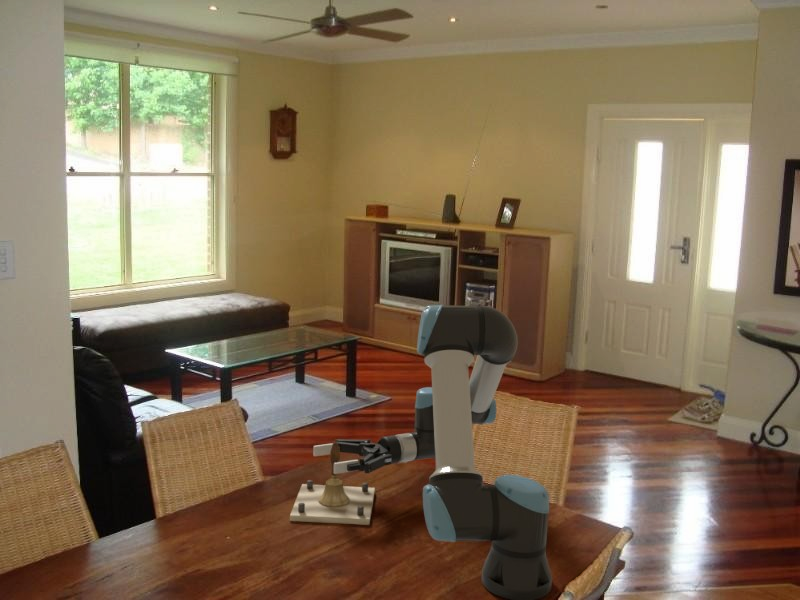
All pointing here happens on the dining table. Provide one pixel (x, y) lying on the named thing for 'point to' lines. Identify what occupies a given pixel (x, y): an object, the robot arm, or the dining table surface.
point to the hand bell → (334, 484)
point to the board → (346, 514)
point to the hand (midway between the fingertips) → (323, 459)
